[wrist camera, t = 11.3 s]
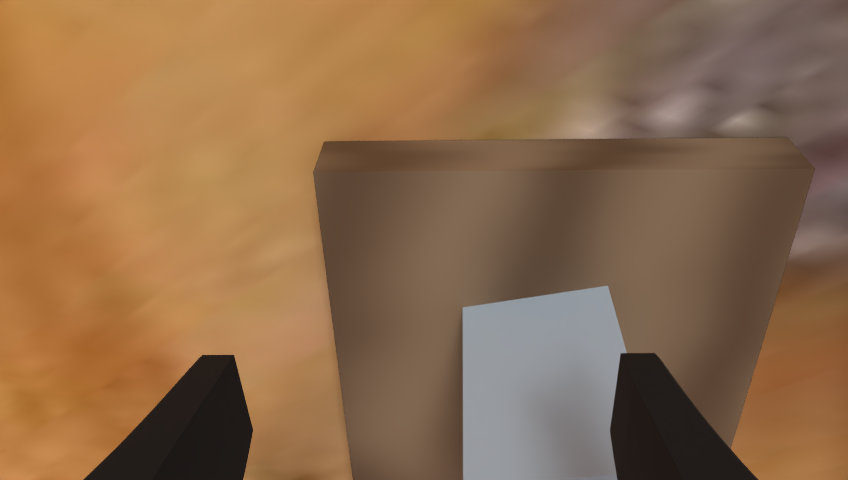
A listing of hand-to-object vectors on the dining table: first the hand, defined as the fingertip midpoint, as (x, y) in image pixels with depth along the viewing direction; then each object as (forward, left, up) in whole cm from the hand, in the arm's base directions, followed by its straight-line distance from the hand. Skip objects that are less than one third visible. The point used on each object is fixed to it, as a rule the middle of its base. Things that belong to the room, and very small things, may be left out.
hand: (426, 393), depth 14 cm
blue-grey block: (-3, +6, -8) cm, 11 cm away
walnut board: (-3, +7, -10) cm, 13 cm away
